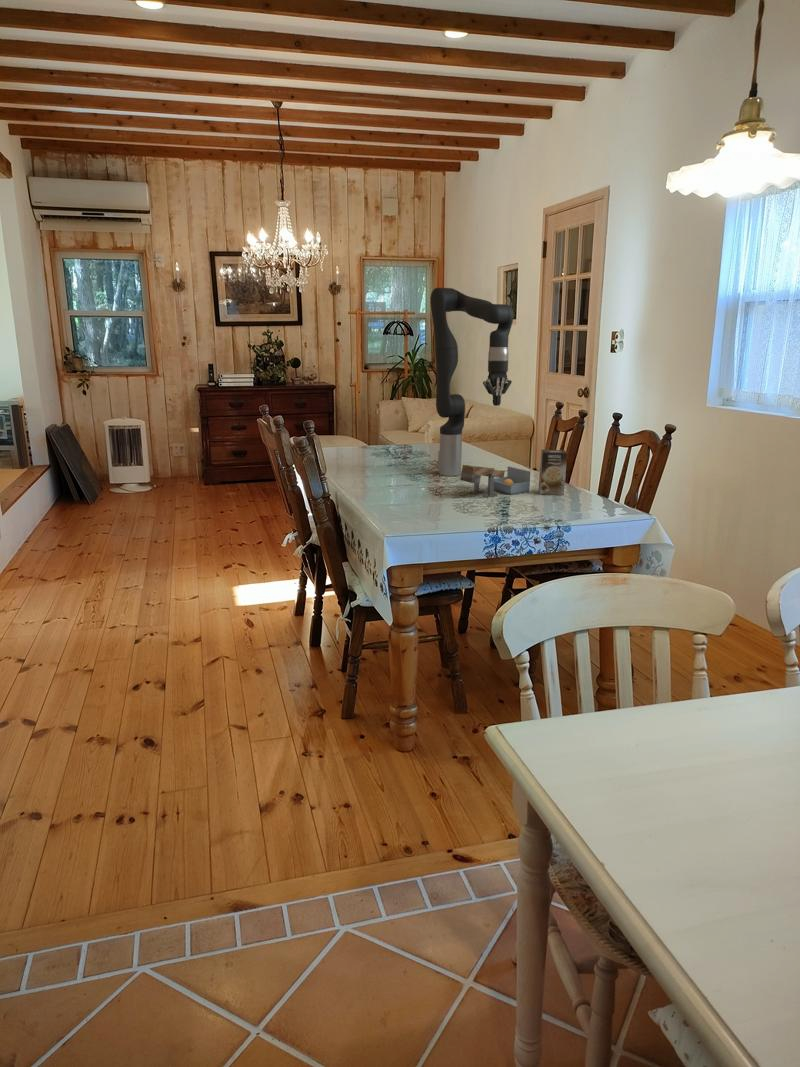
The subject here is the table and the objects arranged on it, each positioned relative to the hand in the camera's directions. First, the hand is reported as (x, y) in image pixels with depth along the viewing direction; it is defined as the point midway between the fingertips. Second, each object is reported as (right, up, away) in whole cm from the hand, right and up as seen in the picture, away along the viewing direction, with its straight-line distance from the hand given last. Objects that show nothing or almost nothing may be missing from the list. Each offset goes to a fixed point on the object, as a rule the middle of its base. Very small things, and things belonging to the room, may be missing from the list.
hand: (496, 405), depth 287 cm
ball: (+4, -31, -4) cm, 31 cm away
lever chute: (-9, -30, -7) cm, 32 cm away
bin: (+5, -33, -2) cm, 33 cm away
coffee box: (+20, -34, -7) cm, 40 cm away
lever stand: (-6, -35, -9) cm, 36 cm away
